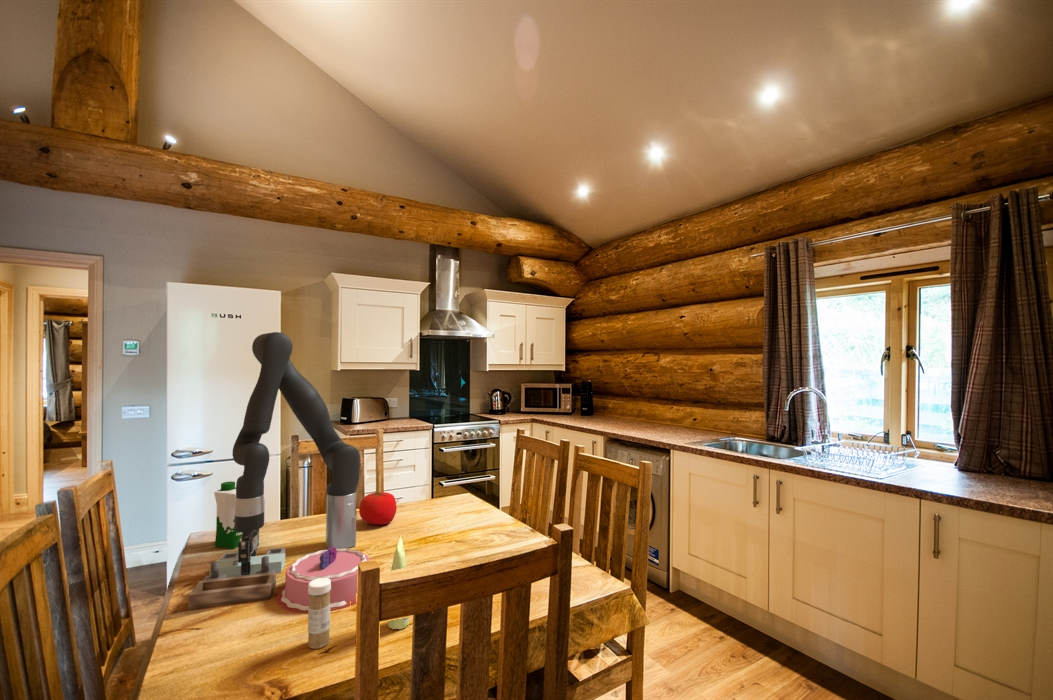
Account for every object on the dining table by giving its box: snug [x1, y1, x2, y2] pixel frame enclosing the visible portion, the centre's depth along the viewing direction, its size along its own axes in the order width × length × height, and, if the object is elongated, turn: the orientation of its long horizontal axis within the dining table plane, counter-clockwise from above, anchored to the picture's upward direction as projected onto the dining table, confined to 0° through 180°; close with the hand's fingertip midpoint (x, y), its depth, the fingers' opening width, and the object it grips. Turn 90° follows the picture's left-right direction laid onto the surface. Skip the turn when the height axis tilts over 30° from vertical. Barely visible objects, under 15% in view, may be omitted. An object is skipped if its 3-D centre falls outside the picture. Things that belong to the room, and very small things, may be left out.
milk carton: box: [213, 481, 243, 550], centre depth 160 cm, size 9×9×20 cm
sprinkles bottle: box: [307, 578, 331, 650], centre depth 106 cm, size 5×5×14 cm
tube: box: [387, 535, 410, 630], centre depth 114 cm, size 6×5×20 cm
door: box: [208, 547, 286, 578], centre depth 142 cm, size 18×11×4 cm, turn 107°
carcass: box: [187, 556, 277, 610], centre depth 127 cm, size 18×10×7 cm, turn 107°
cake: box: [276, 547, 371, 614], centre depth 130 cm, size 25×25×11 cm
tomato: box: [358, 491, 397, 526], centre depth 181 cm, size 13×14×12 cm
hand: (248, 569), depth 140 cm, fingers closed on door, 6 cm apart
